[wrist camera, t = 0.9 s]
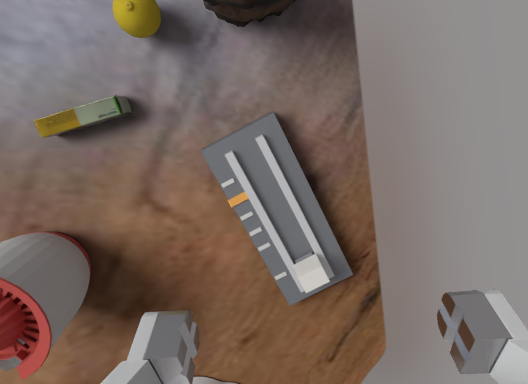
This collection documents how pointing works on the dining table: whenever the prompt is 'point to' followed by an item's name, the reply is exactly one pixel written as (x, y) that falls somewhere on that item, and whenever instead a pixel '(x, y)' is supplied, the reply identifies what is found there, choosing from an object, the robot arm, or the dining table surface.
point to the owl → (246, 9)
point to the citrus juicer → (38, 295)
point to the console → (275, 203)
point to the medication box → (83, 116)
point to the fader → (310, 272)
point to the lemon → (137, 16)
